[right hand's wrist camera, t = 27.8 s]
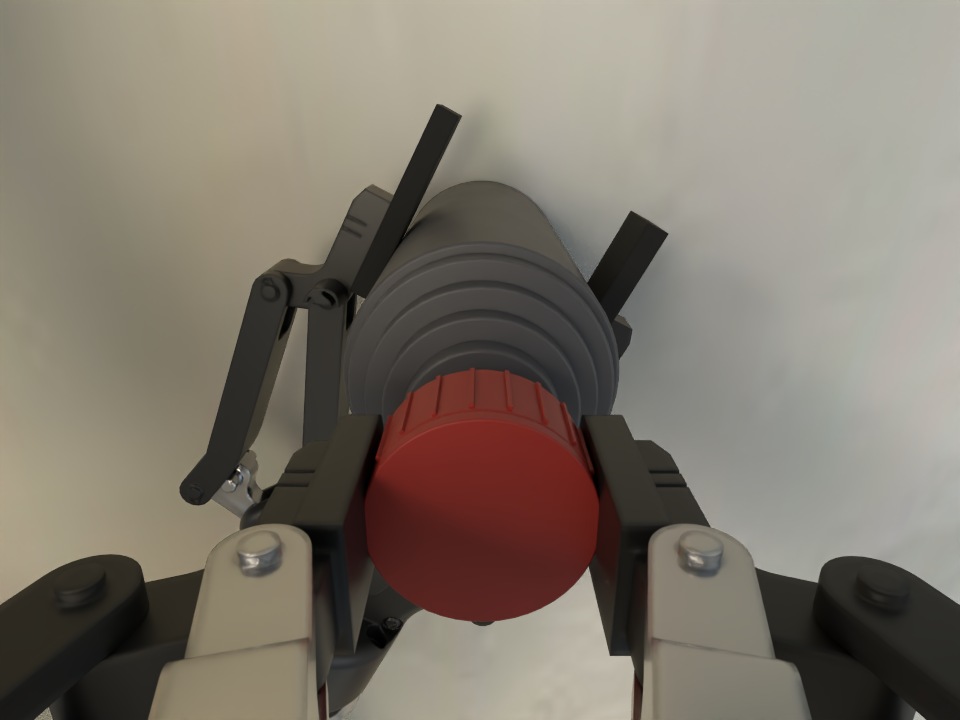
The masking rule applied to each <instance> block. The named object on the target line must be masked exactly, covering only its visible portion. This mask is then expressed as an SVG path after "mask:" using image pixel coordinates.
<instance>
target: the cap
mask: <svg viewBox="0 0 960 720" xmlns="http://www.w3.org/2000/svg"><path fill="white" fill-rule="evenodd" d="M375 459H376V461H375V464H374V468H373V471H372V474H371V478H370V481H369V484H368V488H367V491H366V495H365V498H364V506H365V520H366V533H367V547H368V554H369V556H370V558H371V560H372V562H373V564H374V566H375V567H376V569H377V570H378V572H379V573H380V574H381V576H382V577H383V579H384V580H385V581H386V582H387V583H388V584H389V585H390V586H391V587H392V588H393V589H394V590H395V591H396V592H398V593H399V594H400V595H401V596H403V597H404V598H405V599H407V600H409V601H410V602H412V603H413V604H415V605H417V606H419V607H421V608H423V609H425V610H427V611H429V612H432V613H435V614H438V615H440V616H444V617H448V618H452V619H457V620H464V621H478V622H488V621H500V620H506V619H511V618H516V617H519V616H522V615H526V614H529V613H531V612H534V611H536V610H538V609H541V608H543V607H544V606H546V605H548V604H550V603H552V602H553V601H555V600H556V599H558V598H559V597H560V596H562V595H563V594H565V593H566V592H567V591H568V590H569V589H570V588H571V587H572V586H573V585H574V584H575V583H576V582H577V581H578V580H579V578H580V577H581V576H582V575H583V574H584V572H585V571H586V569H587V567H588V566H589V564H590V563H591V561H592V558H593V556H594V554H595V552H596V541H597V528H598V515H599V496H598V493H597V489H596V487H595V483H594V480H593V477H592V475H593V474H595V471H594V468H593V464H592V461H591V458H590V455H589V452H588V449H587V446H586V443H585V440H584V436H583V433H582V430H581V428H577V427H576V425H575V423H574V421H573V419H572V417H571V416H570V414H569V413H568V410H567V407H566V404H565V403H564V402H562V403H560V402H559V401H558V400H557V399H556V398H555V397H554V396H553V395H552V394H551V393H549V392H548V391H547V390H545V389H544V388H542V386H541V383H539V382H536V383H534V382H532V381H530V380H528V379H525V378H523V377H521V376H518V375H514V374H511V373H510V372H509V371H508V370H505V371H504V372H501V371H495V370H484V369H483V370H475V368H470V370H469V371H461V372H457V373H452V374H449V375H445V376H442V377H441V375H439V376H436V379H435V380H433V381H431V382H429V383H427V384H425V385H424V386H422V387H421V388H419V389H418V390H416V391H415V392H412V391H411V392H409V393H408V395H407V399H406V400H404V402H403V403H402V404H401V405H400V406H399V407H398V409H397V410H396V411H395V413H394V414H393V416H392V415H389V416H388V418H387V421H386V424H385V428H384V431H383V434H382V438H381V441H380V444H379V447H378V451H377V454H376V457H375Z"/></svg>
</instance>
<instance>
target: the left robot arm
mask: <svg viewBox="0 0 960 720" xmlns="http://www.w3.org/2000/svg"><path fill="white" fill-rule="evenodd" d="M461 117H462V116H461V115H460V114H458V113H456V112H454V111H452V110H451V109H449V108H447V107H445V106H443V105H440V104H437V105H436V107H435V109H434V111H433V113H432V115H431V117H430V120H429V122H428V124H427V126H426V128H425V130H424V132H423V134H422V137H421V139H420V141H419V143H418V145H417V147H416V149H415V152H414V154H413V156H412V158H411V160H410V162H409V164H408V167H407V169H406V171H405V173H404V175H403V177H402V179H401V181H400V184H399V186H398V188H397V190H396V192H395V194H394V195H392V194H390V193H388V192H386V191H384V190H382V189H380V188H379V187H377V186H375V185H373V184H372V185H370V186H369V187H367V188H366V189H364V190H363V191H362V192H361V193H360V194H359V195H358V196H357V197H356V198H355V199H354V200H353V201H352V204H351V206H350V208H349V210H348V213H347V215H346V217H345V219H344V222H343V224H342V227H341V228H340V231H339V233H338V235H337V237H336V240H335V242H334V244H333V246H332V248H331V251H330V253H329V255H328V257H327V260H326V262H325V263H324V264H321V265H308V264H301V263H299V262H298V261H296V260H294V259H284V260H281V261H280V262H279V263H277V264H276V265H274V266H273V267H271V268H270V269H269V270H267V271H266V272H265V273H263V274H262V275H261V276H259V277H258V278H257V279H256V280H255V281H254V283H253V285H252V289H251V293H250V296H249V300H248V304H247V307H246V311H245V314H244V318H243V322H242V325H241V329H240V333H239V336H238V340H237V343H236V347H235V351H234V354H233V358H232V362H231V365H230V369H229V372H228V376H227V380H226V383H225V387H224V391H223V394H222V398H221V401H220V405H219V409H218V412H217V416H216V420H215V423H214V427H213V430H212V434H211V438H210V441H209V445H208V449H207V452H206V454H205V455H204V456H203V457H202V459H201V460H200V461H199V462H198V464H197V465H196V466H195V467H194V468H193V470H192V471H191V472H190V473H189V475H188V476H187V477H186V478H185V479H184V481H183V482H182V483H181V485H180V494H181V496H182V498H183V499H184V500H185V501H186V502H188V503H190V504H192V505H203V504H205V503H207V502H208V501H209V500H210V499H211V498H212V499H213V500H214V501H216V502H217V503H219V504H220V505H222V506H223V507H225V508H226V509H228V510H229V511H231V512H232V513H234V514H235V515H237V516H238V517H240V518H241V522H240V531H241V530H243V529H246V528H249V527H253V526H254V525H255V523H256V522H257V520H258V518H259V516H260V514H261V512H262V511H263V509H264V507H265V505H266V503H267V501H268V500H269V498H270V496H271V494H272V492H273V490H274V489H275V487H277V484H275V485H273V486H270V487H268V488H266V489H264V490H261V489H260V488H259V487H258V486H257V484H256V481H255V475H256V472H257V470H258V463H257V460H256V454H255V453H254V452H253V451H252V450H249V448H250V447H251V445H252V444H253V442H254V441H255V439H256V437H257V435H258V433H259V431H260V428H261V426H262V423H263V419H264V416H265V413H266V410H267V406H268V403H269V400H270V397H271V393H272V390H273V387H274V383H275V380H276V377H277V374H278V370H279V367H280V364H281V361H282V357H283V354H284V351H285V347H286V344H287V341H288V338H289V334H290V331H291V328H292V325H293V321H294V318H295V315H296V311H297V308H305V309H309V310H308V333H307V355H306V378H305V401H304V424H303V446H305V445H306V444H308V443H309V442H310V441H312V440H330V437H331V435H332V433H333V431H334V429H335V427H336V424H337V422H338V420H339V418H340V416H341V415H342V414H349V403H348V399H347V396H346V391H345V384H344V354H345V347H346V342H347V338H348V335H349V331H350V328H351V326H352V323H353V321H354V319H355V317H356V305H357V295H359V296H361V297H363V298H365V299H366V298H367V296H368V294H369V293H370V291H371V289H372V288H373V286H374V285H375V283H376V281H377V280H378V278H379V277H380V275H381V273H382V272H383V270H384V268H385V267H386V265H387V264H388V262H389V260H390V259H391V257H392V256H393V254H394V252H395V251H396V249H397V247H398V246H399V244H400V243H401V241H402V239H403V237H404V235H405V233H406V231H407V229H408V227H409V225H410V222H411V220H412V218H413V216H414V214H415V212H416V210H417V208H418V206H419V204H420V202H421V200H422V198H423V196H424V194H425V191H426V189H427V187H428V185H429V183H430V181H431V179H432V177H433V175H434V173H435V171H436V169H437V167H438V165H439V163H440V161H441V158H442V156H443V154H444V152H445V150H446V148H447V146H448V144H449V142H450V140H451V138H452V136H453V134H454V132H455V130H456V127H457V125H458V123H459V121H460V119H461ZM667 236H668V233H667V232H665V231H664V230H662V229H661V228H659V227H658V226H656V225H654V224H653V223H651V222H650V221H648V220H647V219H645V218H643V217H641V216H640V215H638V214H636V213H634V212H632V211H630V213H629V215H628V216H627V218H626V220H625V221H624V223H623V225H622V226H621V228H620V230H619V231H618V233H617V235H616V236H615V238H614V239H613V241H612V243H611V244H610V246H609V248H608V249H607V251H606V253H605V254H604V256H603V258H602V259H601V261H600V263H599V264H598V266H597V268H596V269H595V271H594V273H593V274H592V276H591V278H590V279H589V281H588V283H587V284H588V286H589V287H590V289H591V290H592V292H593V294H594V295H595V297H596V298H597V300H598V302H599V303H600V305H601V306H602V308H603V310H604V311H605V313H606V315H607V318H608V320H609V322H610V324H611V327H612V329H613V333H614V336H615V340H616V344H617V349H618V357H619V360H620V357H621V356H622V355H623V353H624V352H625V350H626V349H627V347H628V346H629V344H630V339H631V334H632V328H631V327H630V325H629V324H628V322H627V321H626V319H625V318H624V317H622V316H620V315H618V313H619V311H620V310H621V308H622V307H623V305H624V304H625V302H626V300H627V299H628V297H629V296H630V294H631V292H632V291H633V289H634V288H635V286H636V285H637V283H638V281H639V280H640V278H641V277H642V275H643V273H644V272H645V270H646V269H647V267H648V266H649V264H650V262H651V261H652V259H653V258H654V256H655V254H656V253H657V251H658V250H659V248H660V247H661V245H662V243H663V242H664V240H665V239H666V237H667ZM303 446H302V447H303ZM422 609H423V608H421V607H419V606H417V605H415V604H413V603H412V602H410V601H409V600H407V599H405V598H404V597H403V596H401V595H400V594H399V593H398V592H396V591H395V590H394V589H393V588H392V587H391V586H390V585H389V584H388V583H387V582H386V581H385V580H384V579H383V577H382V576H381V574H380V573H379V572H378V570H377V569H376V567H374V571H373V576H372V580H371V584H370V589H369V593H368V597H367V602H366V606H365V611H364V615H363V619H362V624H361V628H360V632H359V637H358V641H357V645H356V650H355V654H354V655H333V659H332V663H331V666H330V670H329V674H328V676H327V688H328V705H329V720H346V718H347V717H348V715H349V713H350V712H351V710H352V709H353V707H354V706H355V704H356V702H357V701H358V698H359V695H360V694H361V693H362V691H363V690H364V689H365V687H366V686H367V684H368V682H369V681H370V679H371V678H372V676H373V674H374V673H375V671H376V670H377V668H378V666H379V665H380V663H381V661H382V660H383V658H384V657H385V655H386V653H387V652H388V650H389V649H390V647H391V645H392V644H393V642H394V641H395V639H396V637H397V636H398V634H399V632H400V631H401V629H402V627H403V625H404V624H405V622H406V621H407V619H408V618H410V617H411V616H412V615H413V614H415V613H417V612H418V611H421V610H422ZM471 622H473V623H474V624H476V625H479V626H487V625H490V624H492V623H493V622H495V621H488V622H478V621H471Z"/></svg>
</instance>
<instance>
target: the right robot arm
mask: <svg viewBox="0 0 960 720" xmlns="http://www.w3.org/2000/svg"><path fill="white" fill-rule="evenodd" d="M580 428H581V430H582V433H583V436H584V440H585V443H586V446H587V449H588V452H589V455H590V458H591V461H592V464H593V468H594V471H595V474H593V475H592V477H593V480H594V483H595V487H596V489H597V493H598V496H599V515H598V528H597V541H596V552H595V554H594V556H593V558H592V561H591V563H590V564H589V570H590V574H591V578H592V582H593V587H594V591H595V595H596V599H597V603H598V608H599V612H600V616H601V620H602V624H603V629H604V633H605V637H606V641H607V645H608V650H609V654H610V656H631V658H632V661H633V665H634V669H635V670H634V679H633V688H632V703H631V720H913V718H914V715H915V712H916V711H917V712H918V713H919V714H920V715H922V716H923V717H924V718H925V719H926V720H960V605H959V604H957V603H956V602H954V601H953V600H951V599H950V598H948V597H947V596H945V595H944V594H942V593H941V592H940V591H938V590H937V589H935V588H934V587H932V586H931V585H929V584H928V583H926V582H925V581H923V580H922V579H920V578H919V577H917V576H915V575H914V574H912V573H910V572H908V571H906V570H904V569H902V568H900V567H898V566H895V565H893V564H890V563H887V562H884V561H881V560H877V559H872V558H867V557H859V556H845V557H839V558H835V559H832V560H830V561H828V562H827V563H825V564H824V566H823V567H822V569H821V572H820V576H819V580H818V583H815V582H811V581H806V580H801V579H796V578H792V577H787V576H782V575H778V574H774V573H770V572H767V571H764V570H761V569H758V568H756V567H755V566H754V562H753V559H752V556H751V554H750V553H749V551H748V550H747V549H746V548H745V547H744V545H743V544H741V543H740V542H739V541H738V540H736V539H735V538H733V537H732V536H730V535H728V534H726V533H724V532H722V531H719V530H717V529H714V528H711V527H710V525H709V523H708V521H707V520H706V518H705V516H704V514H703V512H702V511H701V509H700V507H699V505H698V503H697V502H696V500H695V498H694V496H693V494H692V493H691V491H690V489H689V487H687V484H686V482H685V480H684V478H683V476H682V475H681V474H679V469H678V467H677V466H676V464H675V462H674V460H673V458H672V457H671V455H670V454H669V453H668V452H666V451H665V450H664V449H662V448H661V447H660V446H658V445H657V444H655V443H654V442H653V441H651V440H634V439H633V437H632V434H631V432H630V430H629V428H628V426H627V424H626V422H625V419H624V417H623V416H622V415H582V417H581V421H580ZM383 431H384V427H383V419H382V416H381V414H342V415H341V416H340V418H339V420H338V422H337V424H336V427H335V429H334V431H333V433H332V435H331V437H330V440H312V441H310V442H309V443H308V444H306V445H305V446H303V447H302V448H301V449H299V450H298V451H297V452H295V453H294V454H293V456H292V457H291V459H290V461H289V463H288V465H287V467H286V468H285V473H283V474H282V476H281V478H280V479H279V481H278V483H277V487H275V489H274V490H273V492H272V494H271V496H270V498H269V500H268V501H267V503H266V505H265V507H264V509H263V511H262V512H261V514H260V516H259V518H258V520H257V522H256V523H255V525H254V526H253V527H249V528H246V529H243V530H241V531H238V532H236V533H234V534H232V535H230V536H228V537H227V538H225V539H224V540H222V541H221V542H220V543H219V544H217V545H216V546H215V548H214V549H213V550H212V551H211V553H210V554H209V556H208V559H207V561H206V566H205V569H202V570H199V571H196V572H192V573H188V574H184V575H179V576H175V577H170V578H165V579H160V580H156V581H151V582H146V583H145V582H144V577H143V573H142V569H141V566H140V565H139V564H138V562H137V561H135V560H134V559H132V558H129V557H127V556H122V555H112V554H110V555H98V556H91V557H87V558H83V559H80V560H76V561H73V562H71V563H68V564H66V565H63V566H61V567H59V568H57V569H55V570H53V571H51V572H49V573H48V574H46V575H44V576H43V577H41V578H40V579H38V580H37V581H35V582H34V583H32V584H31V585H29V586H28V587H26V588H25V589H23V590H22V591H21V592H19V593H18V594H16V595H15V596H13V597H12V598H10V599H9V600H7V601H6V602H4V603H3V604H1V605H0V720H34V719H35V718H36V717H37V716H38V715H40V714H41V713H42V712H43V711H44V710H45V709H46V708H48V707H49V708H50V711H51V715H52V718H53V720H329V705H328V688H327V676H328V674H329V670H330V666H331V663H332V659H333V655H354V654H355V650H356V645H357V641H358V637H359V632H360V628H361V624H362V619H363V615H364V611H365V606H366V602H367V597H368V593H369V589H370V584H371V580H372V576H373V571H374V567H375V566H374V564H373V562H372V560H371V558H370V556H369V554H368V547H367V533H366V520H365V506H364V498H365V495H366V491H367V488H368V484H369V481H370V478H371V474H372V471H373V468H374V464H375V461H376V459H375V457H376V454H377V451H378V447H379V444H380V441H381V438H382V434H383Z"/></svg>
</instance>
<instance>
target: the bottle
mask: <svg viewBox="0 0 960 720" xmlns="http://www.w3.org/2000/svg"><path fill="white" fill-rule="evenodd" d="M470 368H475V370H483V369H484V370H495V371H501V372H504V371H505V370H508V371H509V372H510V373H511V374H514V375H518V376H521V377H523V378H525V379H528V380H530V381H532V382H534V383H536V382H539V383H541V386H542V388H544V389H545V390H547V391H548V392H549V393H551V394H552V395H553V396H554V397H555V398H556V399H557V400H558V401H559V402H560V403H562V402H564V403H565V404H566V407H567V410H568V413H569V414H570V416H571V417H572V419H573V421H574V423H575V425H576V427H577V428H580V421H581V417H582V415H610V413H611V411H612V408H613V404H614V401H615V398H616V394H617V387H618V381H619V357H618V349H617V344H616V340H615V336H614V333H613V329H612V327H611V324H610V322H609V320H608V318H607V315H606V313H605V311H604V310H603V308H602V306H601V305H600V303H599V302H598V300H597V298H596V297H595V295H594V294H593V292H592V290H591V289H590V287H589V286H588V284H587V282H586V281H585V279H584V278H583V276H582V274H581V273H580V271H579V270H578V268H577V266H576V265H575V263H574V262H573V260H572V258H571V257H570V255H569V254H568V252H567V250H566V249H565V247H564V246H563V244H562V242H561V241H560V239H559V238H558V236H557V234H556V233H555V231H554V230H553V228H552V226H551V225H550V223H549V222H548V220H547V218H546V217H545V215H544V214H543V212H542V211H541V210H540V209H539V207H538V206H537V205H536V204H535V203H534V202H533V201H532V200H531V199H530V198H528V197H527V196H526V195H524V194H523V193H521V192H520V191H518V190H516V189H514V188H512V187H509V186H506V185H504V184H500V183H496V182H489V181H473V182H467V183H462V184H458V185H456V186H453V187H450V188H448V189H446V190H444V191H442V192H441V193H439V194H438V195H436V196H435V197H434V198H432V199H431V200H430V201H429V202H428V203H427V204H426V205H425V206H424V207H423V209H422V210H421V211H420V212H419V214H418V215H417V217H416V218H415V220H414V222H413V223H412V225H411V226H410V228H409V230H408V231H407V233H406V235H405V236H404V238H403V239H402V241H401V243H400V244H399V246H398V247H397V249H396V251H395V252H394V254H393V256H392V257H391V259H390V260H389V262H388V264H387V265H386V267H385V268H384V270H383V272H382V273H381V275H380V277H379V278H378V280H377V281H376V283H375V285H374V286H373V288H372V289H371V291H370V293H369V294H368V296H367V298H366V299H365V301H364V302H363V304H362V306H361V307H360V309H359V310H358V312H357V314H356V317H355V319H354V321H353V323H352V326H351V328H350V331H349V335H348V338H347V342H346V347H345V354H344V384H345V391H346V396H347V399H348V403H349V406H350V410H351V412H352V414H381V416H382V419H383V427H384V428H385V424H386V421H387V418H388V416H389V415H392V416H393V414H394V413H395V411H396V410H397V409H398V407H399V406H400V405H401V404H402V403H403V402H404V400H406V399H407V395H408V393H409V392H411V391H412V392H415V391H416V390H418V389H419V388H421V387H422V386H424V385H425V384H427V383H429V382H431V381H433V380H435V379H436V376H439V375H441V377H442V376H445V375H449V374H452V373H457V372H461V371H469V370H470Z"/></svg>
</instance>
